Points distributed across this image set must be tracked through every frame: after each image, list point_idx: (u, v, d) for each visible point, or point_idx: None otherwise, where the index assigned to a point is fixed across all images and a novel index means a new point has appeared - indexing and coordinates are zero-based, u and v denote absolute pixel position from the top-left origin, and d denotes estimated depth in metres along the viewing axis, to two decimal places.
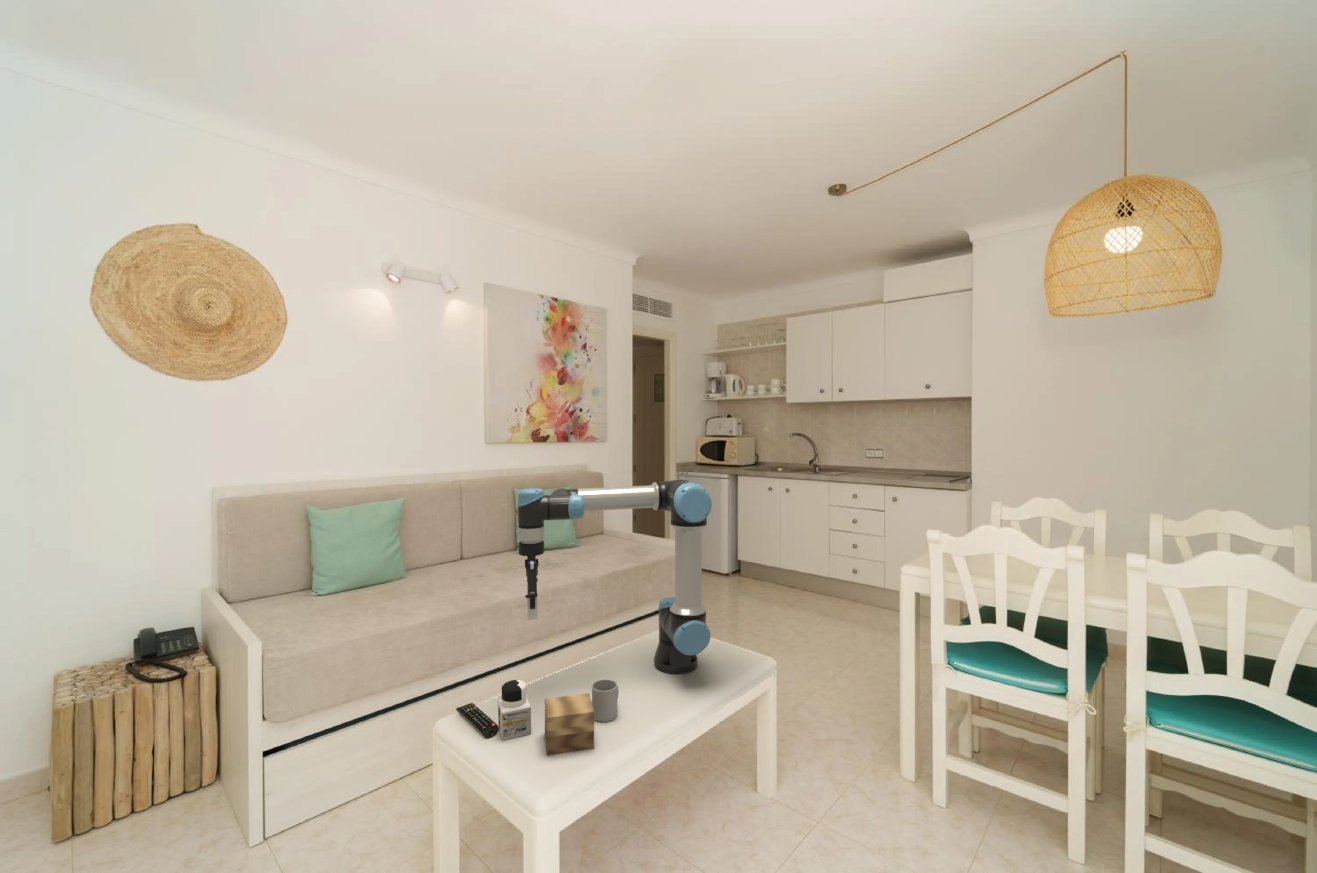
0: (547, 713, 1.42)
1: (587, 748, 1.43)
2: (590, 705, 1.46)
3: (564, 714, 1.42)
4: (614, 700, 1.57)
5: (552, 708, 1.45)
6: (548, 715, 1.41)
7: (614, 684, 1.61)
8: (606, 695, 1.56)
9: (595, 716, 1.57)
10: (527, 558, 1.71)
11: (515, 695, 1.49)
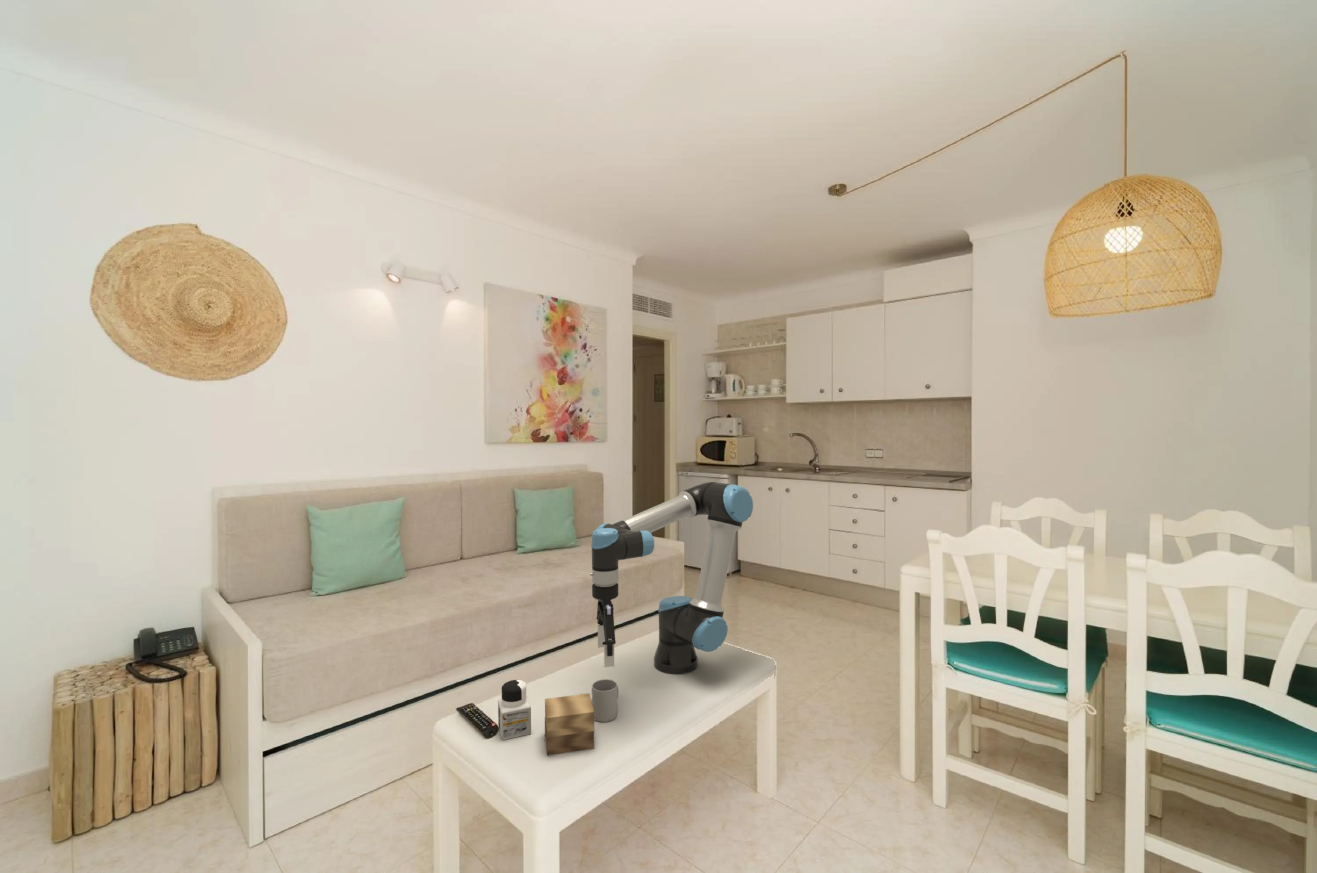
0: (547, 713, 1.42)
1: (587, 748, 1.43)
2: (590, 705, 1.46)
3: (564, 715, 1.42)
4: (614, 700, 1.57)
5: (553, 708, 1.45)
6: (548, 715, 1.41)
7: (614, 684, 1.61)
8: (606, 695, 1.56)
9: (595, 716, 1.57)
10: (599, 600, 1.65)
11: (515, 695, 1.49)
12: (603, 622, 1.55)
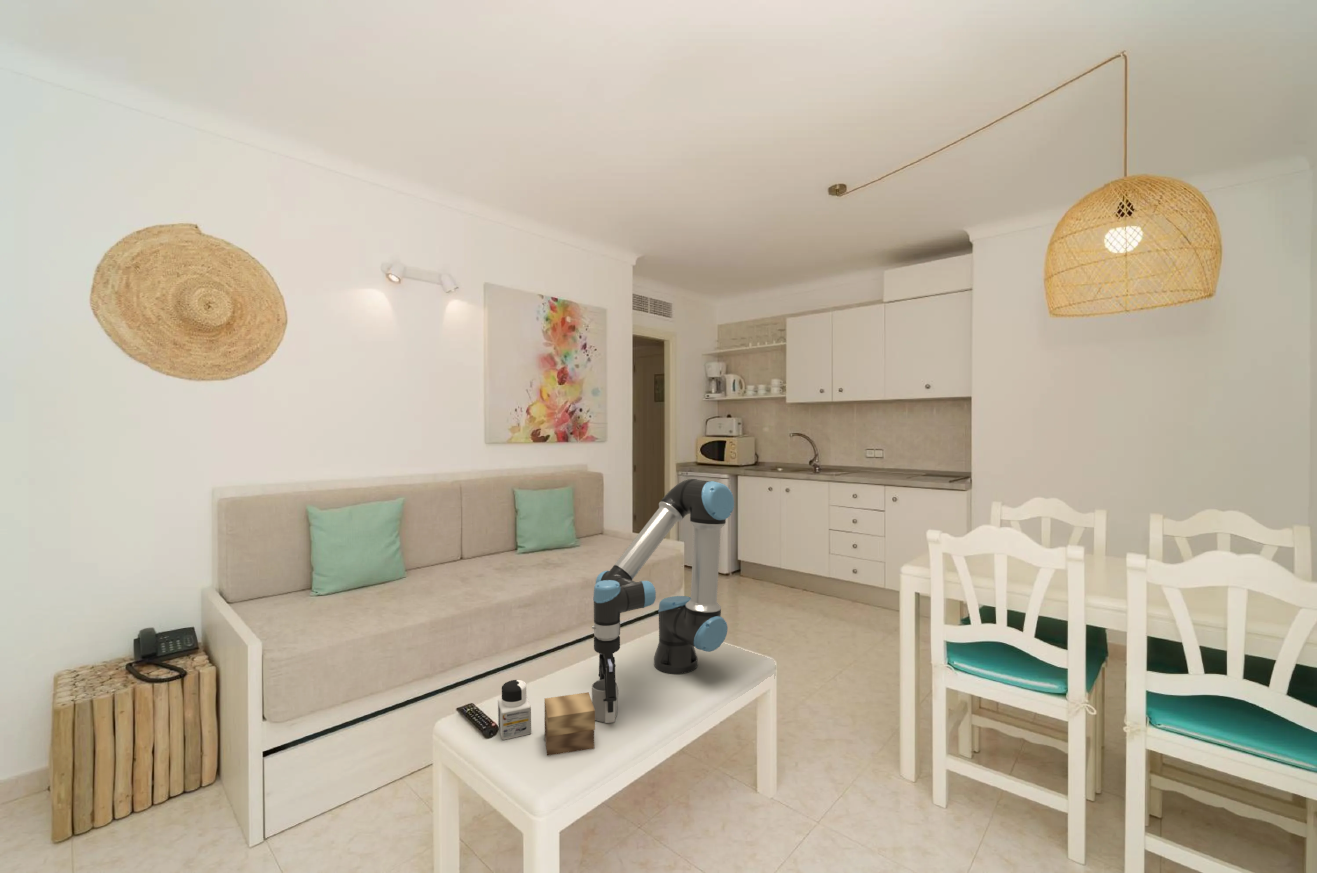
0: (548, 713, 1.43)
1: (587, 748, 1.43)
2: (590, 704, 1.47)
3: (565, 714, 1.42)
4: None
5: (553, 707, 1.45)
6: (549, 715, 1.42)
7: None
8: None
9: (595, 716, 1.57)
10: None
11: (515, 695, 1.49)
12: (604, 677, 1.56)
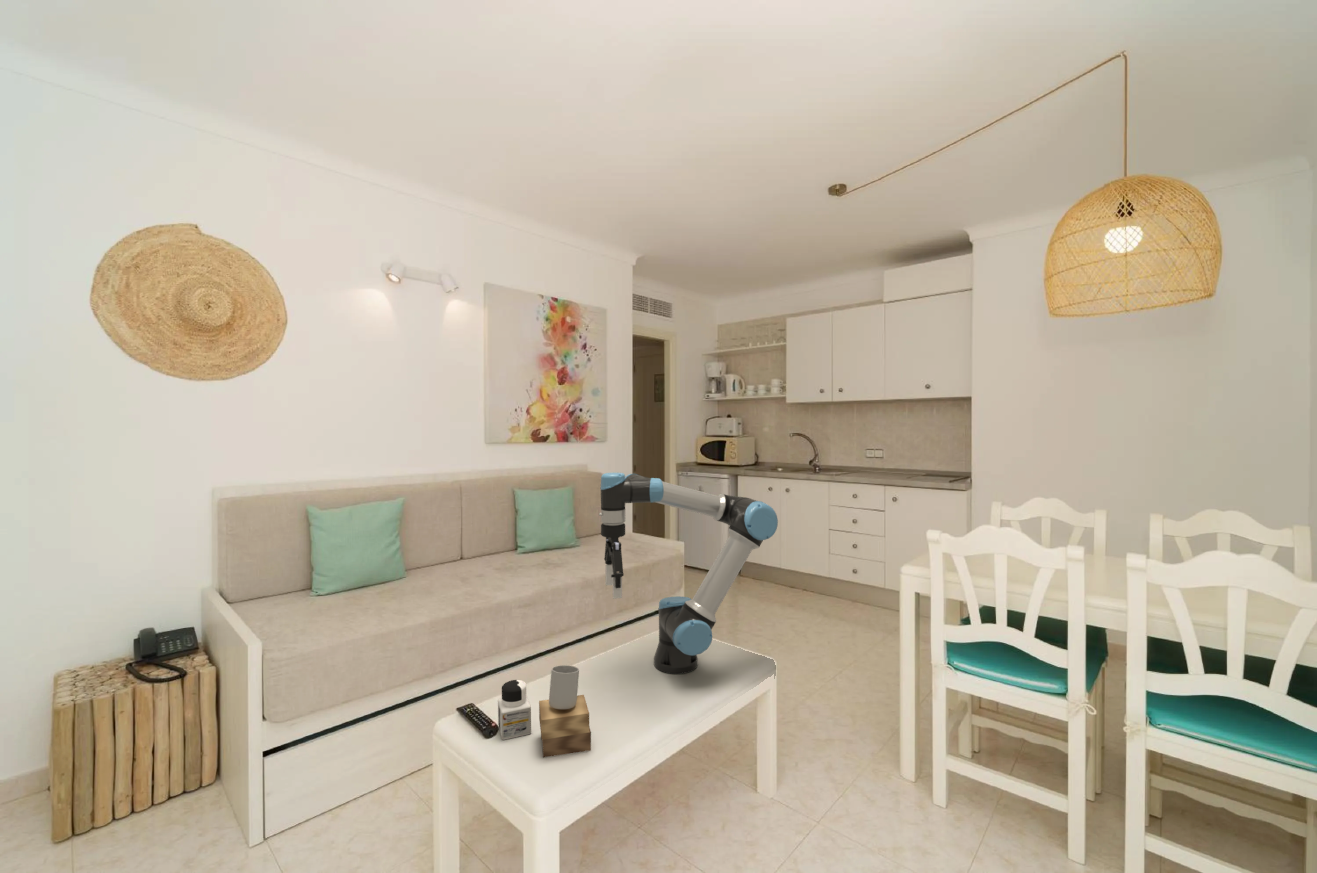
0: (542, 715, 1.41)
1: (584, 750, 1.42)
2: (585, 707, 1.45)
3: (559, 716, 1.41)
4: (575, 685, 1.45)
5: (547, 710, 1.44)
6: (543, 717, 1.40)
7: (575, 670, 1.49)
8: (568, 678, 1.43)
9: (553, 702, 1.43)
10: (607, 540, 1.76)
11: (515, 695, 1.49)
12: (611, 558, 1.67)
